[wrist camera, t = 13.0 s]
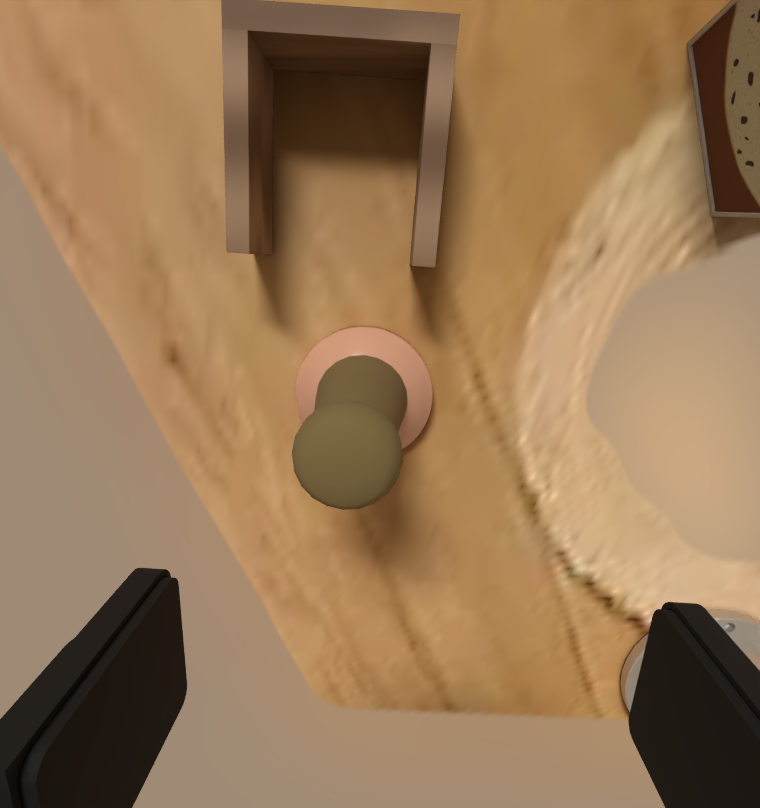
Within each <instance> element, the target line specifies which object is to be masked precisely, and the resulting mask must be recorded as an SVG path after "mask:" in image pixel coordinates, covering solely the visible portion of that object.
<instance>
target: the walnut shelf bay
mask: <svg viewBox="0 0 760 808" xmlns="http://www.w3.org/2000/svg"><path fill="white" fill-rule="evenodd" d="M221 2H222V51H223V99H224V148H225V197H226V246H227V252H232V253H246V254H272V229H273V70H284V71H299V72H313V73H327V74H342V75H356V76H370V77H385V78H399V79H414V80H425V88H424V100H423V112H422V124H421V136H420V148H419V159H418V171H417V183H416V195H415V207H414V219H413V230H412V242H411V254H410V265H412V266H422V267H435V262H436V252H437V242H438V232H439V222H440V212H441V202H442V192H443V182H444V172H445V162H446V152H447V141H448V131H449V121H450V111H451V101H452V91H453V81H454V71H455V61H456V51H457V41H458V31H459V21H460V14H452V13H437V12H422V11H408V10H393V9H378V8H364V7H349V6H334V5H320V4H305V3H291V2H276V1H261V0H221Z"/></svg>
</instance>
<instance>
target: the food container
mask: <svg viewBox="0 0 760 808" xmlns="http://www.w3.org/2000/svg"><path fill="white" fill-rule="evenodd" d="M687 48H688V55H689V62H690V70H691V77H692V84H693V91H694V98H695V105H696V112H697V119H698V126H699V134H700V141H701V148H702V155H703V162H704V169H705V176H706V183H707V190H708V198H709V205H710V212H711V216H715V217H743V218H760V0H731V1H730V2H729V3H728V4H727V5H726V6H725V7H724V8H723V9H722V10H721V11H720V12H719V13H718V14H717V15H716V16H715V17H714V18H713V19H712V20H710V21H709V22H708V23H707V24H706V25H705V26H704V27H703V28H702V29H701V30H700V31H699V32H698V33H697V34H696V35H695V36H694V37H693V38H692V39H691V40H690V41H689V42H688V43H687Z"/></svg>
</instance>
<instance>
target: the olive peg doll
mask: <svg viewBox="0 0 760 808" xmlns="http://www.w3.org/2000/svg"><path fill="white" fill-rule="evenodd" d="M407 405H408V403H407V390H406V387H405V385H404V382H403V380H402V378H401V376H400V375H399V374H398V373H397V372H396V370H395V369H394V368H393V367H392V366H391V365H389V364H388V363H386V362H384V361H383V360H381V359H379V358H375V357H371V356H367V355H357V356H349V357H346V358H344V359H342V360H339V361H337V362H335V363H334V364H333V365H332V366H331V367H330V368H328V369H327V370H326V371H325V373H324V375H323V376H322V378H321V380H320V381H319V384H318V388H317V393H316V399H315V408H314V412H313V413H312V414H311V415H309V416H308V417H307V418H306V419H305V421H304V422H303V424H302V426H301V427H300V429H299V431H298V432H297V434H296V436H295V440H294V445H293V450H292V457H293V464H294V472H295V474H296V476H297V478H298V480H299V482H300V484H301V486H302V487H303V488H304V489H305V490H306V491H307V492H308V493H309V494H310V495H311V497H312V498H314V499H316V500H317V501H319V502H321V503H323V504H325V505H326V506H330V507H334V508H338V509H343V510H344V509H360V508H363V507H365V506H368V505H371V504H374V503H375V502H377V501H378V500H379V499H381V498H382V497H383V496H385V495H386V494H387V493H388V492H389V490H390V489H391V487H392V486H393V484H394V483H395V481H396V480H397V478H398V476H399V473H400V469H401V466H402V462H403V460H402V446H401V439H400V437H399V435H398V431H399V429H400V426H401V424H402V421H403V419H404V416H405V412H406V408H407Z"/></svg>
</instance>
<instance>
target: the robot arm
mask: <svg viewBox="0 0 760 808" xmlns="http://www.w3.org/2000/svg"><path fill="white" fill-rule="evenodd" d="M181 620H182V619H181V608H180V596H179V585H178V580H177V579H176V578H171V576H170V573H169V571H168V570H166V569H151V568H137V569H135V570H134V571H133V572H132V573H131V574H130V575H129V576H128V578H127V579H126V580H125V581H124V582H123V583H122V585H121V586H120V587H119V588H118V589H117V590H116V591H115V593H114V594H113V595H112V596H111V597H110V598H109V599H108V601H107V602H106V603H105V604H104V605H103V606H102V607H101V609H100V610H99V611H98V612H97V613H96V614H95V615H94V617H93V618H92V619H91V620H90V621H89V622H88V623H87V625H86V626H85V627H84V628H83V629H82V630H81V631H80V633H79V634H78V635H77V636H76V637H75V638H74V639H73V640H71V641H70V642H69V643H68V644H67V645H66V646H65V647H64V648H63V649H62V650H61V651H60V652H59V653H58V655H57V656H56V657H55V658H54V659H53V660H52V661H51V663H50V664H49V665H48V666H47V667H46V668H45V670H43V672H42V673H41V674H40V675H39V676H38V677H37V678H36V680H35V681H34V682H33V683H32V684H31V685H30V687H29V688H28V689H27V690H26V691H25V692H24V693H23V694H22V695H21V697H20V698H19V699H18V700H17V701H16V702H15V703H14V705H13V706H12V707H11V708H10V709H9V710H8V711H7V712H6V714H5V715H4V716H3V717H2V718H1V719H0V808H132V807H133V805H134V803H135V801H136V799H137V797H138V794H139V792H140V791H141V789H142V787H143V785H144V783H145V781H146V778H147V777H148V774H149V772H150V770H151V768H152V766H153V764H154V762H155V760H156V758H157V756H158V754H159V752H160V750H161V748H162V746H163V744H164V742H165V740H166V738H167V736H168V734H169V732H170V730H171V728H172V726H173V724H174V722H175V720H176V718H177V716H178V714H179V712H180V710H181V708H182V705H183V703H184V700H185V696H186V691H187V679H186V668H185V655H184V644H183V631H182V621H181ZM620 683H621V693H622V697H623V699H624V702H625V705H626V707H627V708H628V710H629V712H630V714H629V729H630V733H631V736H632V739H633V741H634V744H635V746H636V748H637V750H638V752H639V754H640V756H641V758H642V760H643V762H644V764H645V766H646V768H647V770H648V772H649V774H650V777H651V778H652V781H653V783H654V785H655V787H656V789H657V791H658V793H659V795H660V797H661V799H662V801H663V803H664V806H665V808H760V621H758V620H756V619H755V618H753V617H751V616H748V615H744V614H741V613H738V612H732V611H724V610H709V611H707V610H706V609H705V608H704V607H703V606H701V605H699V604H692V603H676V602H667V603H665V604H664V605H663V606H662V609H658V610H656V611H655V612H654V614H653V617H652V621H651V626H650V630H649V633H648V634H647V635H645V636H644V637H643V638H642V639H641V640H640V641H639V643H638V644H637V645H636V646H635V647H634V648H633V650H632V651H631V653H630V654H629V656H628V657H627V659H626V662H625V664H624V667H623V669H622V675H621V682H620Z"/></svg>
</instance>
